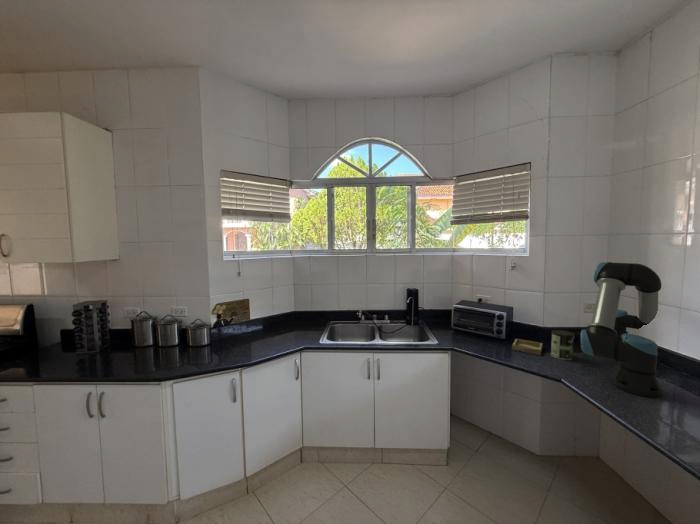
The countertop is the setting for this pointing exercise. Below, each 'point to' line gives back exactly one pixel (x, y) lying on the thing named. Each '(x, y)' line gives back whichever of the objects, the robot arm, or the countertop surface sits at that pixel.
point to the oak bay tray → (527, 346)
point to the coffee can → (562, 344)
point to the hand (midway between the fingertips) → (575, 341)
